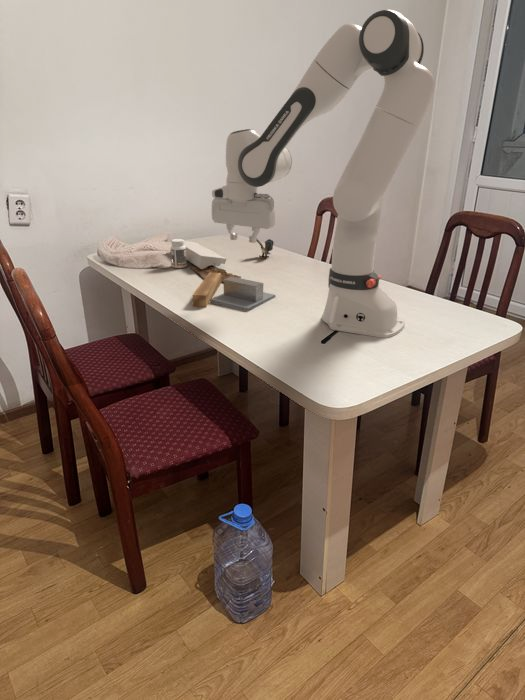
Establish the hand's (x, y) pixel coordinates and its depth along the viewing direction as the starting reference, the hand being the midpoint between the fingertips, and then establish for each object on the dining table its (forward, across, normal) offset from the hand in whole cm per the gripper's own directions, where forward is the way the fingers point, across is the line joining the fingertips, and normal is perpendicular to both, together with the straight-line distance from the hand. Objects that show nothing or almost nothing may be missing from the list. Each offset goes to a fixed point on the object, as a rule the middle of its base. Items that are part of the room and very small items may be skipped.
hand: (243, 240), depth 149 cm
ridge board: (+18, 0, 0) cm, 19 cm away
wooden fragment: (+20, +23, -20) cm, 36 cm away
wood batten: (+19, +13, +1) cm, 23 cm away
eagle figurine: (+18, +22, -46) cm, 54 cm away
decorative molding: (+17, +40, -34) cm, 55 cm away
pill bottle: (+18, +42, -18) cm, 49 cm away
